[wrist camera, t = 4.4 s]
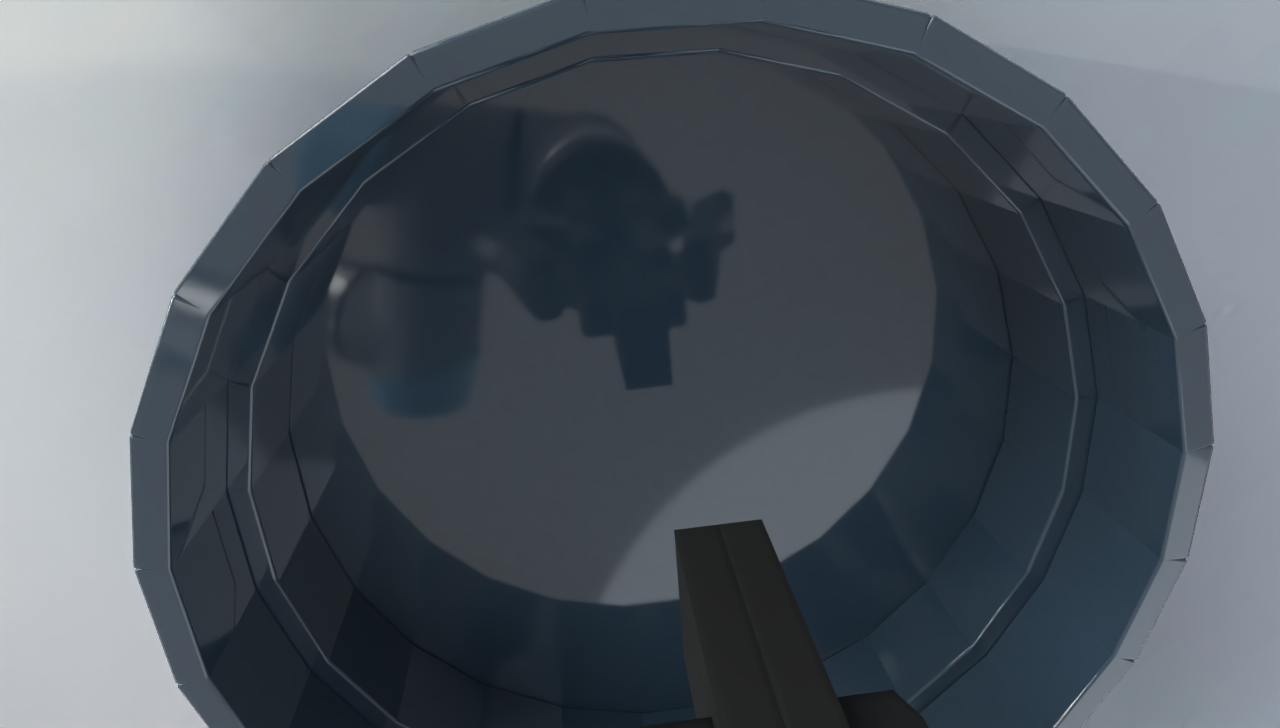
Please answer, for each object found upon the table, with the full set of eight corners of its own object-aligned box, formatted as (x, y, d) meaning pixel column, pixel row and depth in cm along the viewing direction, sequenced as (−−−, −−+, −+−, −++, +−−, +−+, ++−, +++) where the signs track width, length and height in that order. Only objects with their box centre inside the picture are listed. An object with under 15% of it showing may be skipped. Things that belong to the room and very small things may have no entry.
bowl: (64, 340, 18) (-150, 475, 13) (802, -216, 16) (942, -353, 10) (571, 814, 25) (578, 1035, 20) (1137, 483, 23) (1328, 629, 17)
